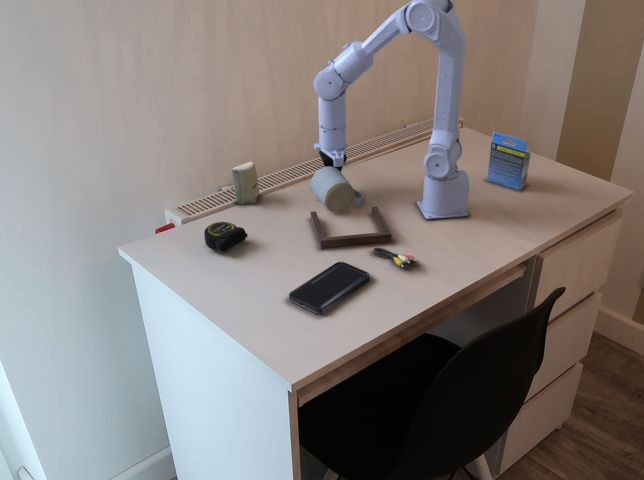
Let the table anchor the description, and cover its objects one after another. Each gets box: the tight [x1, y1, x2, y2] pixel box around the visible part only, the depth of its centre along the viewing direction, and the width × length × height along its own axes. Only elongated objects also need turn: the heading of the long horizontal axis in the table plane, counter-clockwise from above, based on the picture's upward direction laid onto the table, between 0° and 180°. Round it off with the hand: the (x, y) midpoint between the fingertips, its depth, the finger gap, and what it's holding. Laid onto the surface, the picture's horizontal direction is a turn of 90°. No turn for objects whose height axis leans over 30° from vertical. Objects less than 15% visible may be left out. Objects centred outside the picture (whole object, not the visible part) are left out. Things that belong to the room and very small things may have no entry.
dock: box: [309, 205, 392, 250], centre depth 148 cm, size 14×12×2 cm
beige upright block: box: [231, 161, 260, 206], centre depth 155 cm, size 6×5×8 cm
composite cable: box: [372, 247, 417, 270], centre depth 140 cm, size 10×5×2 cm, turn 42°
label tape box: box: [486, 130, 532, 191], centre depth 167 cm, size 9×4×12 cm, turn 58°
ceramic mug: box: [310, 166, 364, 213], centre depth 156 cm, size 11×8×8 cm
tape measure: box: [203, 221, 248, 253], centre depth 141 cm, size 7×7×4 cm
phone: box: [288, 261, 371, 315], centre depth 131 cm, size 8×1×15 cm
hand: (333, 183), depth 162 cm, fingers closed
